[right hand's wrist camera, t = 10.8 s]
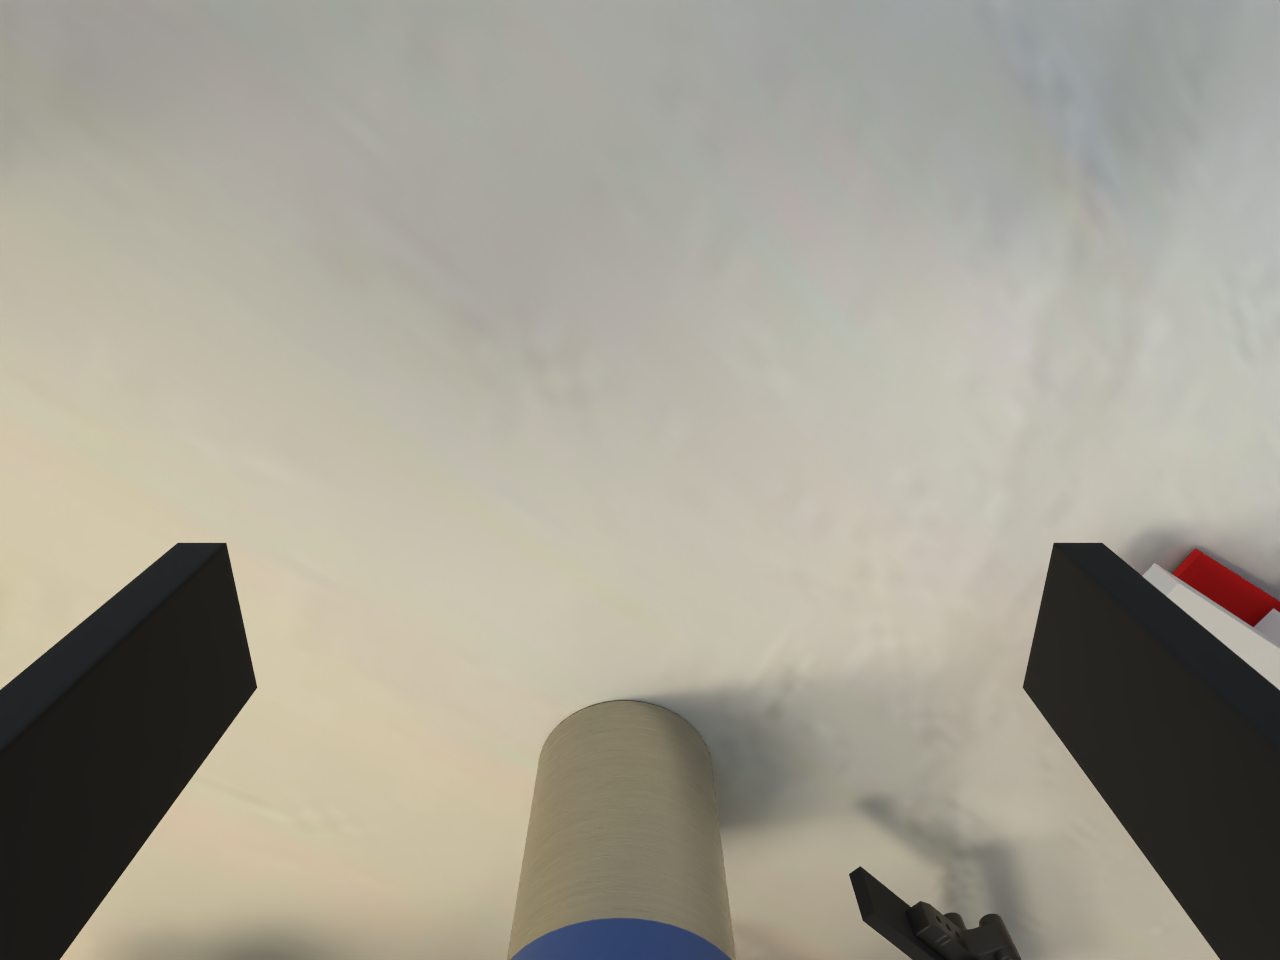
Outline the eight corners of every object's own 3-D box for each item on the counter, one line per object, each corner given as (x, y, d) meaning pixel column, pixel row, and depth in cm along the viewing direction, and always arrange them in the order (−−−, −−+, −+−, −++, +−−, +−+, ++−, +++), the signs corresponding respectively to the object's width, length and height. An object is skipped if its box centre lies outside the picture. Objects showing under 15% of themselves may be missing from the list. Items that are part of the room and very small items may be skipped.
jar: (744, 745, 44) (797, 1027, 30) (656, 859, 47) (665, 1165, 33) (590, 672, 42) (566, 936, 28) (508, 797, 46) (450, 1091, 31)
